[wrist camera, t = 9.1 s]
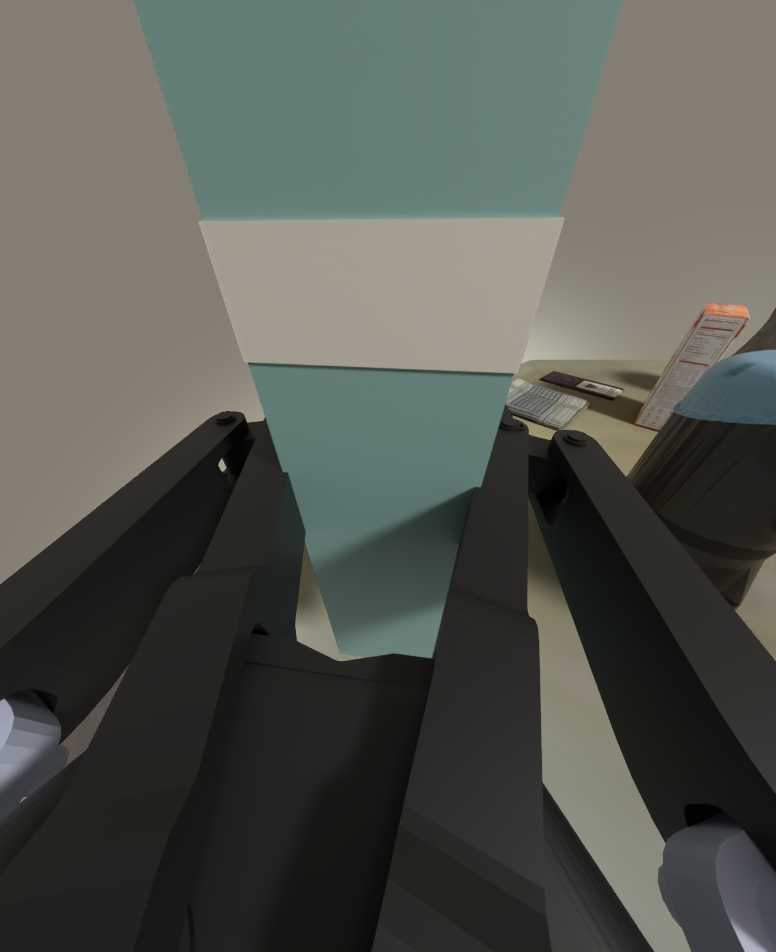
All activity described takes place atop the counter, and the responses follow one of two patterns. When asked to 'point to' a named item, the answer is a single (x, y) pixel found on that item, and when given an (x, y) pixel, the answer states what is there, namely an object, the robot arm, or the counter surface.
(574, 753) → the counter surface
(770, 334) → the vessel
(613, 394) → the chocolate bar
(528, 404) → the dish towel
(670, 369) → the cracker box
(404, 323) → the book
